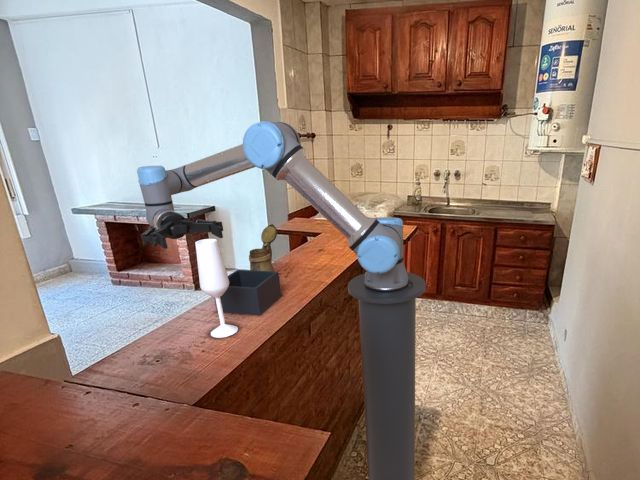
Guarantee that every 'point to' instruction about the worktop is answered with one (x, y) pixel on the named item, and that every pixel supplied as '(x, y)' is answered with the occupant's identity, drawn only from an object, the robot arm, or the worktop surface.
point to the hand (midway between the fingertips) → (193, 238)
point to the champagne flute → (213, 280)
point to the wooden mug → (263, 251)
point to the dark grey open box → (250, 292)
